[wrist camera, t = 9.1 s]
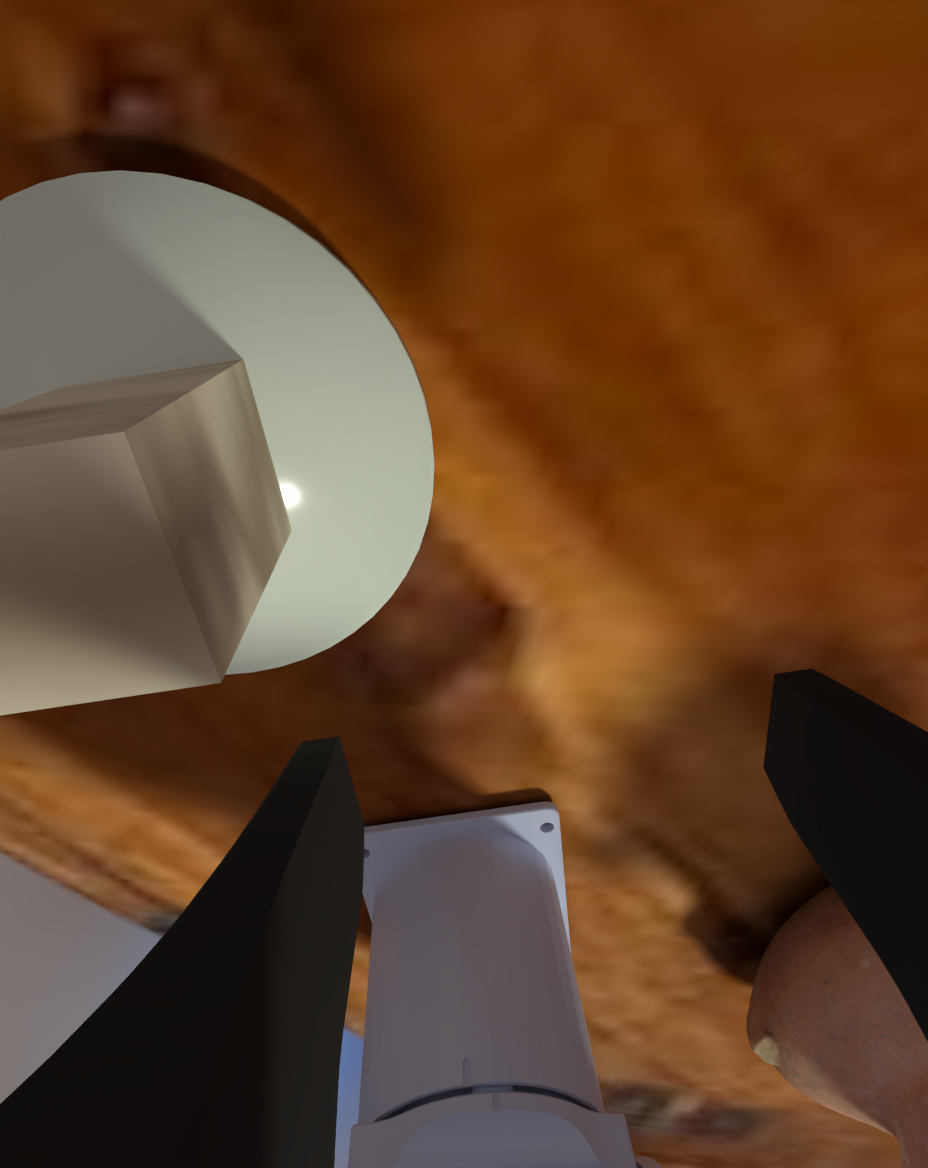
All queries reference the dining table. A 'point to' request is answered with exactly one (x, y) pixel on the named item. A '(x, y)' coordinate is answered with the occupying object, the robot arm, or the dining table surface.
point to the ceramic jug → (841, 1025)
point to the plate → (228, 333)
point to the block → (132, 535)
